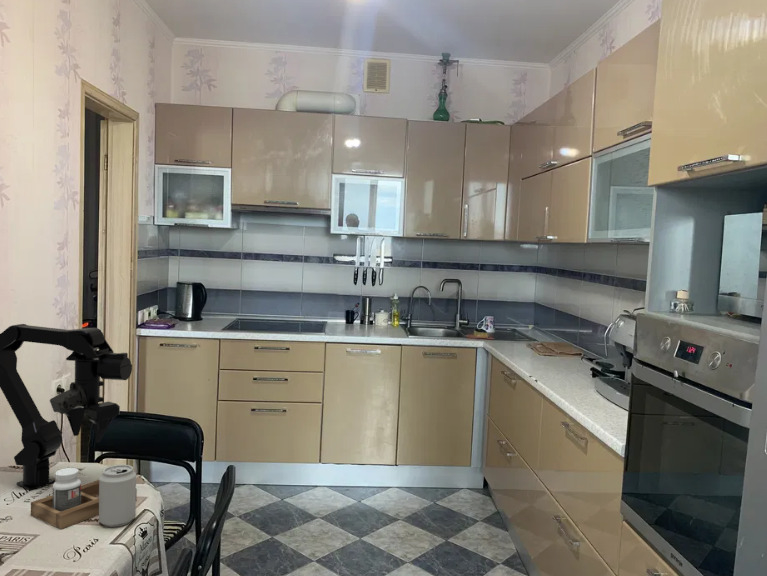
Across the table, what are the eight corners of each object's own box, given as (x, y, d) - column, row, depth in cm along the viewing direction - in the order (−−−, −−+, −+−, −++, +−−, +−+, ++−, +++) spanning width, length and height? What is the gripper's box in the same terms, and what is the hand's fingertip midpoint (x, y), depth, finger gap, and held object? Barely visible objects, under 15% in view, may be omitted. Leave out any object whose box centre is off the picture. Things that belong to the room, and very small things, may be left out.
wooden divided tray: (30, 515, 131) (30, 502, 130) (106, 489, 146) (106, 477, 146) (61, 529, 124) (61, 515, 124) (136, 500, 140) (136, 488, 140)
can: (121, 530, 125) (122, 476, 124) (90, 526, 126) (91, 472, 126) (142, 516, 132) (143, 464, 132) (113, 511, 134) (114, 461, 133)
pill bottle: (86, 512, 133) (87, 470, 133) (63, 521, 128) (63, 478, 127) (70, 507, 136) (70, 465, 135) (46, 516, 130) (47, 473, 130)
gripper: (34, 378, 144) (33, 439, 144) (78, 389, 134) (77, 455, 135) (77, 371, 153) (76, 429, 154) (121, 381, 144) (120, 443, 144)
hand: (86, 439), depth 146 cm, fingers open, 9 cm apart
